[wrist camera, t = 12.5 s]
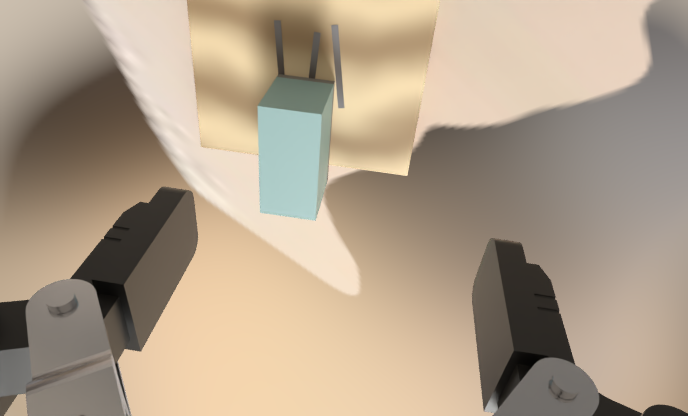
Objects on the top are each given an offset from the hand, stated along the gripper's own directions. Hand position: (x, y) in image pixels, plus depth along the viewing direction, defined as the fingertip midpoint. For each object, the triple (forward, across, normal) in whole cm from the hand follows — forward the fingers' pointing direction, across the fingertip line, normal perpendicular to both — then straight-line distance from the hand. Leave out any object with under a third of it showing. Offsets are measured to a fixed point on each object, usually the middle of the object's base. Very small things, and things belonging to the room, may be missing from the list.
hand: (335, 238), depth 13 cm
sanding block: (+26, +5, +11) cm, 28 cm away
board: (+27, +6, +3) cm, 28 cm away
